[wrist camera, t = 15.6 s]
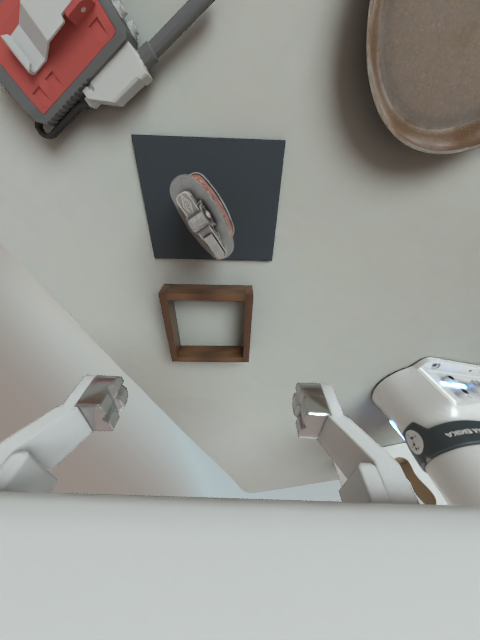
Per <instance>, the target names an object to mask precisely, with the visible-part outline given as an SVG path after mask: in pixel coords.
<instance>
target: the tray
mask: <svg viewBox="0 0 480 640" xmlns="http://www.w3.org/2000/svg"><path fill="white" fill-rule="evenodd" d="M159 298H160V303H161V308H162V313H163V318H164V323H165V328H166V333H167V338H168V343H169V348H170V353H171V358H172V361H178V362H249V349H250V335H251V320H252V306H253V290H252V286H245V285H191V284H164V285H163V287H162V289H161V290H160V292H159ZM173 300H212V301H245V303H244V325H243V347H242V346H181V344H180V338H179V332H178V325H177V319H176V313H175V307H174V301H173Z"/></svg>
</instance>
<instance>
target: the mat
mask: <svg viewBox="0 0 480 640" xmlns="http://www.w3.org/2000/svg"><path fill="white" fill-rule="evenodd" d="M132 141H133V146H134V151H135V156H136V161H137V167H138V172H139V177H140V182H141V188H142V193H143V198H144V203H145V209H146V214H147V219H148V224H149V229H150V235H151V240H152V245H153V250H154V256H155V258H176V259H216V258H214V257H213V256H211V255H210V254H209V253H208V252H207V251H206V250H205V249H204V248H203V247H202V246H201V244H200V243H199V242H198V241H197V239H196V238H195V237H194V236H193V235H192V233H191V232H190V231H189V229H188V227H187V226H186V224H185V223H184V221H183V219H182V218H181V216H180V214H179V212H178V210H177V208H176V206H175V204H174V202H173V200H172V198H171V195H170V185H171V183H172V181H173V180H174V179H175V177H177V176H179V175H184V174H188V175H189V174H191V173H195V172H199V173H202V174H203V175H204V176H205V177H206V178H207V179H208V180H209V182H210V183H211V184H212V185H213V186H214V188H215V189H216V191H217V192H218V194H219V195H220V197H221V198H222V200H223V201H224V203H225V205H226V207H227V209H228V211H229V214H230V216H231V219H232V222H233V224H234V234H233V241H234V249H233V252H232V253H231V255H229V256H228V257H227V258H224V259H221V260H267V261H272V255H273V246H274V237H275V229H276V220H277V211H278V202H279V193H280V184H281V175H282V166H283V157H284V149H285V140H261V139H235V138H208V137H182V136H156V135H132Z"/></svg>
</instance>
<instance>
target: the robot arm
mask: <svg viewBox="0 0 480 640" xmlns="http://www.w3.org/2000/svg"><path fill="white" fill-rule="evenodd" d="M123 382H124V381H123V378H122V377H118V376H103V375H86V376H84V377H83V378H82V379H81V380H80V382H79V383H78V384H77V386H76V387H75V388H74V390H73V391H72V392H71V394H70V395H69V396H68V398H67V399H66V400H65V402H64V403H63V404H62V406H57V407H55V408H54V409H52V410H50V411H49V412H47V413H46V414H44V415H42V416H41V417H39V418H38V419H36V420H34V421H33V422H31V423H30V424H28V425H26V426H25V427H23V428H21V429H20V430H18V431H17V432H15V433H13V434H12V435H10V436H9V437H7V438H6V439H4V440H2V441H1V442H0V640H480V366H479V365H474V364H468V363H462V362H457V361H451V360H445V359H439V358H434V357H427V358H424V359H422V360H420V361H419V362H417V363H416V364H414V365H413V366H410V367H408V368H405V369H403V370H400V371H398V372H396V373H394V374H392V375H390V376H388V377H387V378H385V379H384V380H383V381H382V382H380V383H379V384H378V386H377V387H376V388H375V390H374V392H373V395H372V399H373V402H374V403H375V404H376V405H377V406H378V407H379V408H380V409H381V410H382V411H383V412H384V414H385V415H386V416H387V417H388V418H389V419H390V423H391V425H392V426H393V427H394V428H395V430H396V431H397V432H398V433H399V434H400V435H401V436H402V437H403V439H404V440H405V441H406V443H407V446H408V448H409V450H410V452H411V453H412V455H413V456H414V458H415V460H416V461H417V463H418V464H419V466H420V467H421V469H422V470H423V471H424V472H426V473H427V474H428V475H429V477H430V478H431V480H432V482H433V483H434V485H435V487H436V488H437V490H438V491H439V493H440V495H441V496H442V498H443V499H444V501H445V503H446V504H447V505H429V504H419V502H418V499H417V498H416V496H415V494H414V492H413V490H412V488H411V486H410V484H409V482H408V480H407V478H406V476H405V474H404V472H403V470H402V468H401V467H400V465H399V463H398V462H397V461H396V460H395V459H394V458H393V457H392V456H390V455H389V454H388V453H387V452H386V451H385V450H384V449H383V448H382V447H381V446H379V445H378V444H377V443H376V442H375V441H374V440H373V439H372V438H371V437H370V436H369V435H367V434H366V433H365V432H364V431H363V430H362V429H361V428H360V427H359V426H358V425H357V424H355V423H354V422H353V421H352V420H351V419H350V418H349V417H348V416H344V414H343V412H342V409H341V407H340V404H339V402H338V399H337V397H336V395H335V392H334V390H333V387H332V385H331V384H320V383H319V384H318V383H297V384H296V387H295V388H296V393H294V395H293V401H292V406H293V413H294V415H295V416H296V417H297V420H296V428H297V432H298V437H299V438H315V439H317V440H318V441H319V443H320V444H321V445H322V447H323V448H324V449H325V450H326V452H327V453H328V454H329V456H330V457H331V458H332V460H333V461H334V462H335V464H336V465H337V466H338V467H339V469H340V470H341V471H342V473H343V474H344V475H345V477H346V478H347V481H346V482H345V483H344V484H343V486H342V487H341V489H340V490H339V493H340V497H341V500H342V502H333V501H301V500H269V499H239V498H206V497H175V496H174V497H173V496H143V495H111V494H110V495H109V494H79V493H51V492H52V491H53V489H54V487H55V485H56V484H57V479H56V478H55V477H54V476H53V475H52V474H51V473H50V471H51V470H52V469H53V468H54V467H55V466H56V465H57V464H59V463H60V462H61V461H62V460H63V459H64V458H65V457H66V456H67V455H68V454H70V453H71V452H72V451H73V450H74V449H75V448H76V447H77V446H78V445H79V444H81V443H82V442H83V441H84V440H85V439H86V438H87V437H88V436H89V435H90V434H92V433H93V431H113V429H114V427H115V425H116V423H117V421H118V419H119V414H118V412H119V411H120V410H122V409H123V408H124V407H125V404H126V402H127V398H128V391H127V388H126V387H125V386H123V385H122V384H123Z"/></svg>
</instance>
